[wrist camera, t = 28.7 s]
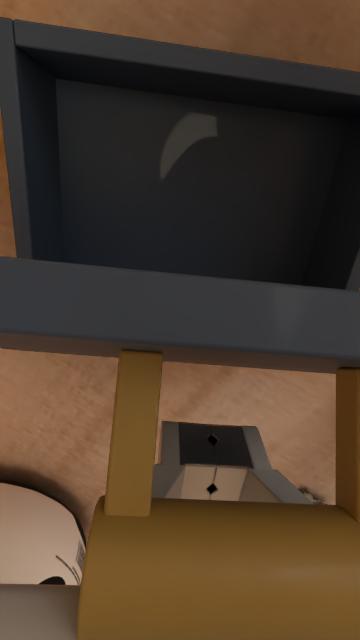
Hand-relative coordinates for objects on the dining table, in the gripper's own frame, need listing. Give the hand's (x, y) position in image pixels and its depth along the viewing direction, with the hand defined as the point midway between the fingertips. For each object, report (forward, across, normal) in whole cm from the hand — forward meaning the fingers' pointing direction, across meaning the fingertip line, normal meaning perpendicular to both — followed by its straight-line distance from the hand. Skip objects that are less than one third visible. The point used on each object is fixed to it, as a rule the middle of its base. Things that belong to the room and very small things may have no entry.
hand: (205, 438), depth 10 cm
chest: (+14, 0, -5) cm, 15 cm away
